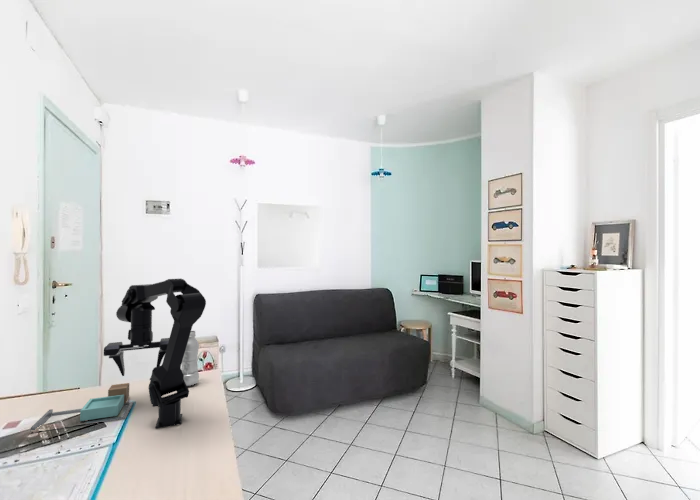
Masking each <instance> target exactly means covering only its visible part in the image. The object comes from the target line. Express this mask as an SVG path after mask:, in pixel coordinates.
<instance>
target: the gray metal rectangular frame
mask: <svg viewBox="0 0 700 500" xmlns="http://www.w3.org/2000/svg"><path fill="white" fill-rule="evenodd" d="M126 405H127V407H126V409H125V412H124V413H123V415H122V416H115V417H114V418H111V417H106V418H100V419H93V420H89V421H87V422H86V423H93V422H100V421H101V422H104V423H108V422H116V421H123V420H126V418H127V417H128V416H129V413H130V412H131V411H130V410H131V409H132V407H133V405H134V401H129V402H128V401H127V402H126V403H124V405H123V407H125V406H126ZM81 409H82V408H77V409H70V410H62V411H54V409H48V410H47V411H46V412H45V413H44V414H43V415H42V416H41V417H40V418H39V419H38V420H37V421H36V422H35V423H34V424H33V425H32V426H31V427H30V431H31V430H35V429H36V428H37V427H39V426H40V425H42V424H43V425H44V424H45V423H46V422H47V421H48V420H49V419H50V418H51V417H54V416H60V415H67V414H68V415H69V414H75V413H80V410H81ZM43 425H42V426H43Z"/></svg>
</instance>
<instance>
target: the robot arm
mask: <svg viewBox="0 0 700 500" xmlns="http://www.w3.org/2000/svg"><path fill="white" fill-rule="evenodd" d="M175 293H180V294H177V295H176V294H175ZM161 296H166V301H165V302H166V303H167V305H168V306H169V308H170V315H171V317H172V319H173V324H172V329H171V331H170V336H169V337H164V338H161V339H160V341H153V340H154V339H153V338H154V337H153V336H154V334H153V333H154V332H153V331H152V329H153V324H152V323H153V315H152V314H153V311H154V310H156V307H155V306H154V305H153V304H152V303H153V302H154V301H156V300H157V299H158V297H161ZM206 305H207V301H206V298H205V296H204V295H203V294H202V292H200V290H199V289H197V287H194V286H193V285H190V284H188V283H187V281H186V280H185V279H184V278H168V279H166V280H163V281H160V282H156V283H149V284H131V285H130V286H129V287H128V289H127V291H126V293H125V295H124V296H123V299H122V300H121V305H120V306H119V307H118V308H117V310H116V313H115V316H116V318H117V319H118V320H119V321H121V322H125V323H130V329H128V333H127V340H128V341H130V343H127V344H123V342H122V341H119V342H108V344H107V345H105V347H104V348H103V356H104V357H108V359H112V360H113V362H114V363H115V364H116V366H117V367H118V369H119V372H120V374H121V376H122V377H125V362H124V361H125V360H124V353H125V352H126V351H136V350H145V349H146V350H147V349H155V348H156V349H157V348H159V349H158V354H157V360H156V361H157V362H156V366H155V367H153V369H152V372H151V376H150V378H149V381H150V382H149V383H148V387H147V388H148V394H149V399H150V400H149V401H150V404H151V406H152V407H153V408H154V407H158V417H157V421H156V423H155V429H160V428H167V427H174V426H179V425H181V424H182V422H183V413H181V409H182V406H181V403H182V402H181V401H182V400H183V399H185V398H188V397H189V394H190V390H189V388H188V386H187V385H186V383H185V381H184V379H183V378H184V374H183V372H182V370H181V369H182V360H183V357H184V353H185V350H186V347H187V343H188V340H189V336H190V333H191V331H192V329H193V325H194V324H195V323H196V322H197V321H198V320H199V319H200V318H201V317H202V315H203V314H204V311H205V309H206ZM124 351H125V352H124Z"/></svg>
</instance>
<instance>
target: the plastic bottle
mask: <svg viewBox="0 0 700 500" xmlns="http://www.w3.org/2000/svg"><path fill="white" fill-rule="evenodd" d="M199 347H200V344H199V341H198V339H197V338H196V330H191V333H190V336H189V340H188V343H187V347H186V350H185V353H184V357H183V360H182V364H181V370H182V372H183V374H184V378H183V379H184V381H185V383H186V385H187V387H191V385H192V386H195V385H197V384H198V382H199V378H200V375H199V368H198V367H199V366H198V358H199V357H198V355H199V350H200V349H199ZM196 383H197V384H196ZM194 384H195V385H194Z"/></svg>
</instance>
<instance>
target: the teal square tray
mask: <svg viewBox="0 0 700 500" xmlns="http://www.w3.org/2000/svg"><path fill="white" fill-rule="evenodd" d="M123 405H124V395H116V396H108V395H107V396H103V397H94V398H90V399H89V400H88V401H87V402H86V404H84V405H83V406H82V408H80V409H81V410H80V412H79V413H80V414H79V415H80V417H79V422H84V421H85V420H89V421H92V420H99V419H106V418H114V417H118V416H119V414H120V412H121V410H122V408H123V407H124V406H123Z"/></svg>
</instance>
